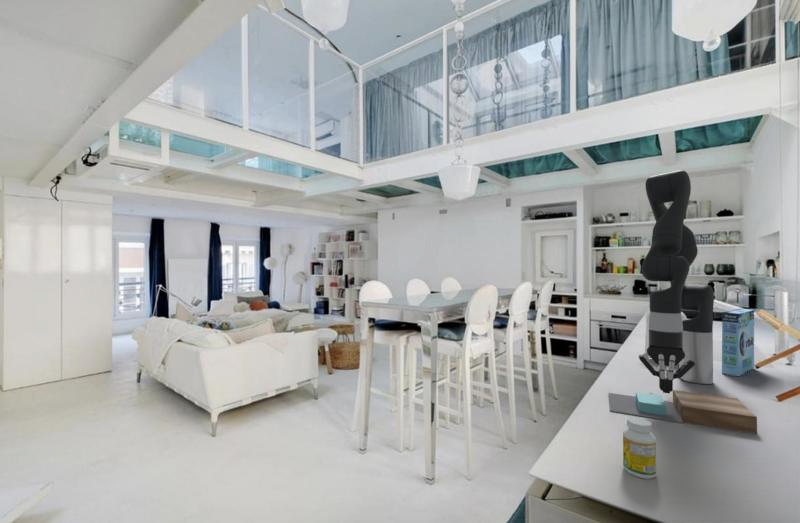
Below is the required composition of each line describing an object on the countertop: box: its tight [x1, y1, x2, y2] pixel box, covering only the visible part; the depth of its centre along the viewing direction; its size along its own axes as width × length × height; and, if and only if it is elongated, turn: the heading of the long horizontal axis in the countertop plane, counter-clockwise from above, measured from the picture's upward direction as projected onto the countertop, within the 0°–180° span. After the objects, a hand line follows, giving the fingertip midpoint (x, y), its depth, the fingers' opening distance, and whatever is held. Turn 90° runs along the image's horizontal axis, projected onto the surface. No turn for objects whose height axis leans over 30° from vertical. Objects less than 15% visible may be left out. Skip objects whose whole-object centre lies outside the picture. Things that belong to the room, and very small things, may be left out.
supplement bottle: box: [622, 416, 657, 480], centre depth 71 cm, size 5×5×10 cm
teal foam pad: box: [635, 391, 666, 415], centre depth 102 cm, size 9×6×2 cm, turn 152°
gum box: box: [721, 308, 755, 377], centre depth 139 cm, size 20×5×23 cm, turn 123°
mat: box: [608, 392, 685, 424], centre depth 103 cm, size 16×16×1 cm
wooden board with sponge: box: [672, 389, 758, 435], centre depth 96 cm, size 14×14×4 cm
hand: (665, 392), depth 100 cm, fingers closed
